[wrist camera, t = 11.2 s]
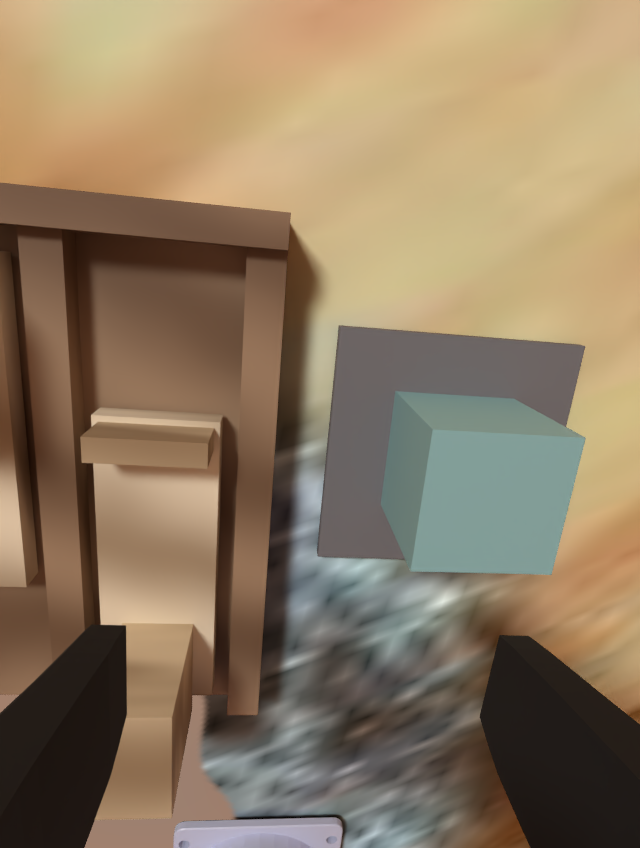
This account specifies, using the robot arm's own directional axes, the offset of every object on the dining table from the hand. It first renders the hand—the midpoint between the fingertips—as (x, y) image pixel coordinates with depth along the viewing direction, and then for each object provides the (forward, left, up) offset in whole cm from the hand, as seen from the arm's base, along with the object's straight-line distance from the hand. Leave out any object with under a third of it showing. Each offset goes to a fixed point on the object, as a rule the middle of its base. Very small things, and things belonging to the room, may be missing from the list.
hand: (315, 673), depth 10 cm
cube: (+1, -6, -10) cm, 11 cm away
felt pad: (+1, -6, -10) cm, 12 cm away
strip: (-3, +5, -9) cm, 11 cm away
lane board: (0, +8, -10) cm, 13 cm away
